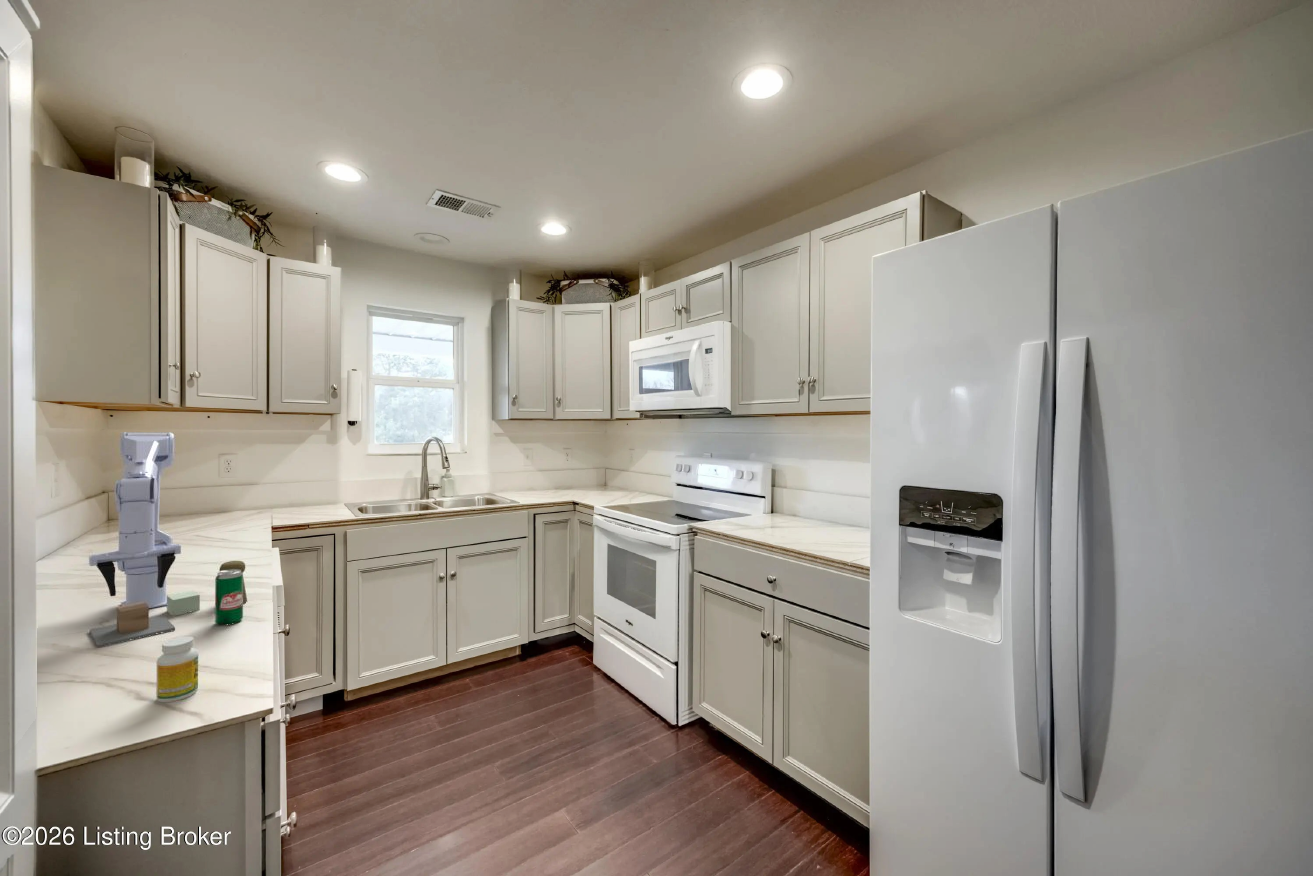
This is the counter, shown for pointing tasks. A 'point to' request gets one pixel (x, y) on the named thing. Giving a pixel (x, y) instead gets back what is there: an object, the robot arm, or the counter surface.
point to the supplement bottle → (177, 670)
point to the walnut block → (132, 617)
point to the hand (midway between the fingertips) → (137, 590)
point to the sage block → (183, 602)
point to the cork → (235, 565)
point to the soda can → (228, 597)
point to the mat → (112, 635)
